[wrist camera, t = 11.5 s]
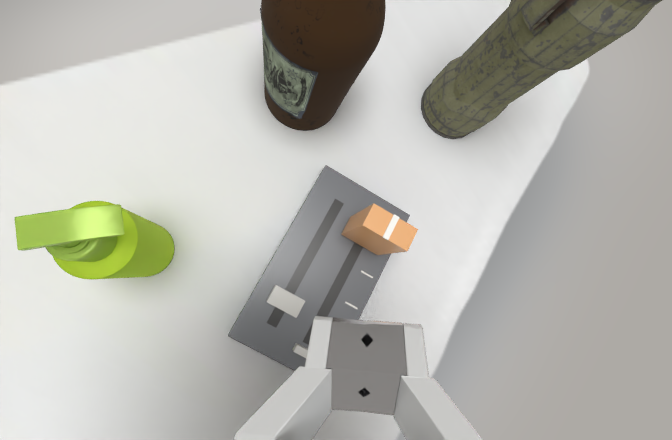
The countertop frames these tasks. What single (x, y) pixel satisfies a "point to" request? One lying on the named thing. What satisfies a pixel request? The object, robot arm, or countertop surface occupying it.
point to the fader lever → (379, 231)
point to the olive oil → (315, 55)
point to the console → (313, 273)
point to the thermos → (523, 57)
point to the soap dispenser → (98, 241)
